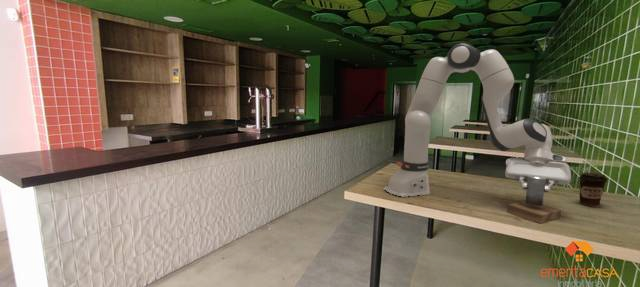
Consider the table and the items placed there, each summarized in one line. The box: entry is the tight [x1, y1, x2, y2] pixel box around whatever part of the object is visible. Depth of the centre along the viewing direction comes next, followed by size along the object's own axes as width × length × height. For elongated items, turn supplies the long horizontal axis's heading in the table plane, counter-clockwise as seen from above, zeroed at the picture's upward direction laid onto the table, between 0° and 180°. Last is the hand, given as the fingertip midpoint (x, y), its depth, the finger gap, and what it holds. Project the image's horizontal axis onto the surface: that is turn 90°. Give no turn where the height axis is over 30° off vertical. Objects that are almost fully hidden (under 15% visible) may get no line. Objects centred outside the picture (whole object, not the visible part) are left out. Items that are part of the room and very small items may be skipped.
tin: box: [524, 175, 546, 206], centre depth 109 cm, size 6×6×10 cm
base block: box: [506, 199, 562, 224], centre depth 111 cm, size 12×12×3 cm
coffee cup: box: [578, 172, 608, 208], centre depth 119 cm, size 9×8×13 cm
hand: (535, 190), depth 109 cm, fingers closed on tin, 5 cm apart
